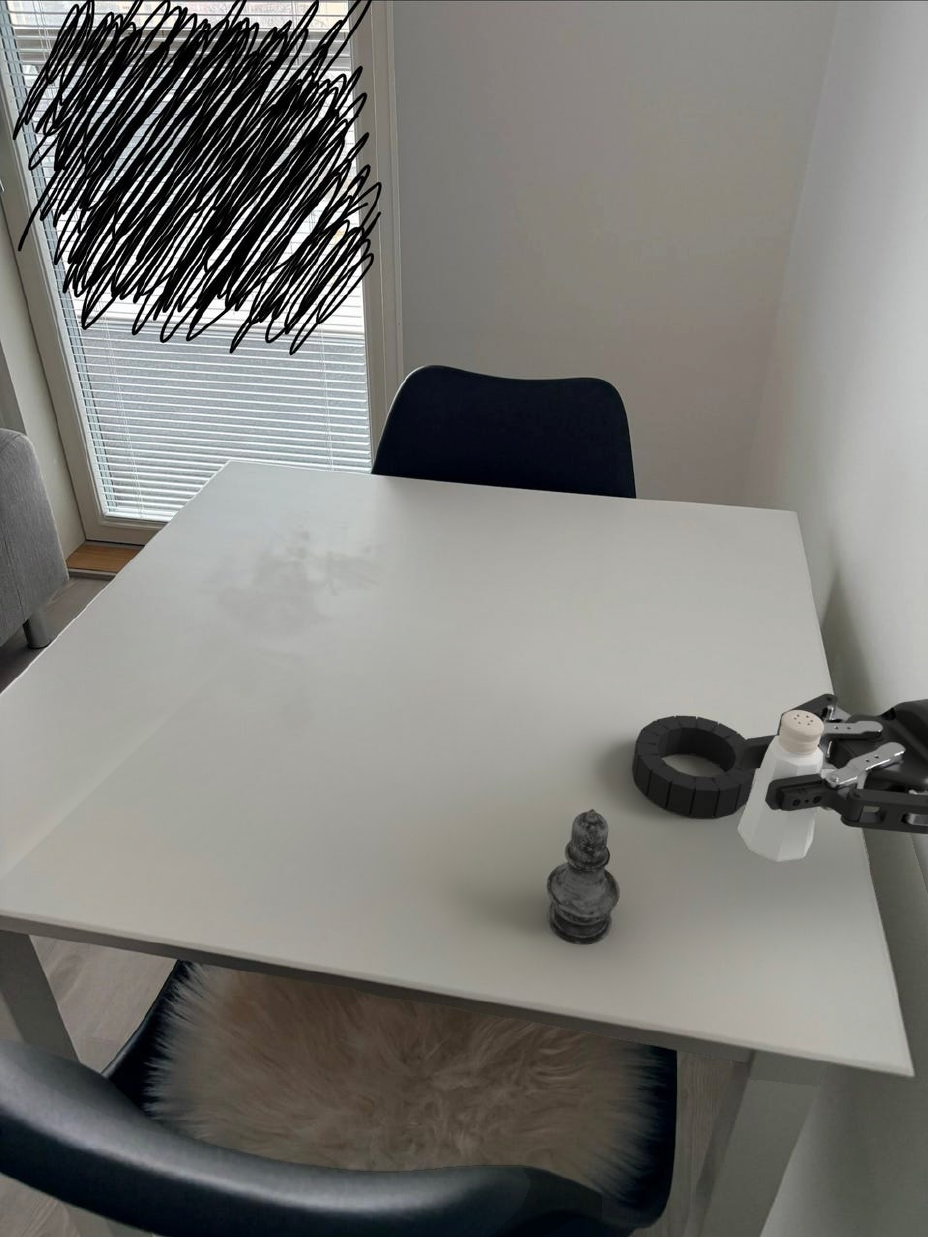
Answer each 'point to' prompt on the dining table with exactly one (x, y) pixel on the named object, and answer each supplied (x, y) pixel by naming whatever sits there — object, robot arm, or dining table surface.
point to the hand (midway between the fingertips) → (755, 775)
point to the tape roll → (683, 789)
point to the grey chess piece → (583, 884)
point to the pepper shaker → (784, 758)
